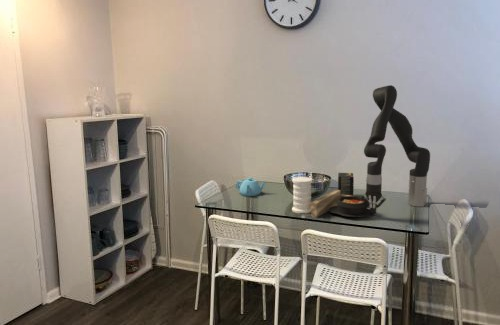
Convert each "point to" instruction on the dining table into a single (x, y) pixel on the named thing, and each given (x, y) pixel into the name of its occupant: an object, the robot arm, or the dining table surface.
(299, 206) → the decorative container
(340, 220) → the dining table surface
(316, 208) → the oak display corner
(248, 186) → the teapot
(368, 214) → the casserole
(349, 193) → the tampon box
